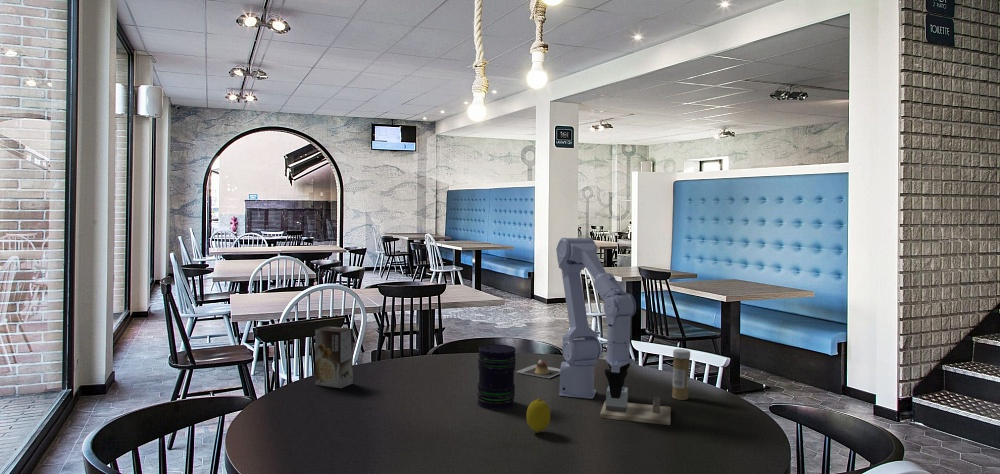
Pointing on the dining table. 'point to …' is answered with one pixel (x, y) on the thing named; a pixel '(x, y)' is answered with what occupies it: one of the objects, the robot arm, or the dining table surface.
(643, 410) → the pin board
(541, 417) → the lemon
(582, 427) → the dining table surface
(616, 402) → the sleeve
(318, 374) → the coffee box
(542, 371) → the dessert
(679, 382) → the sprinkles bottle
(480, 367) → the storage jar
